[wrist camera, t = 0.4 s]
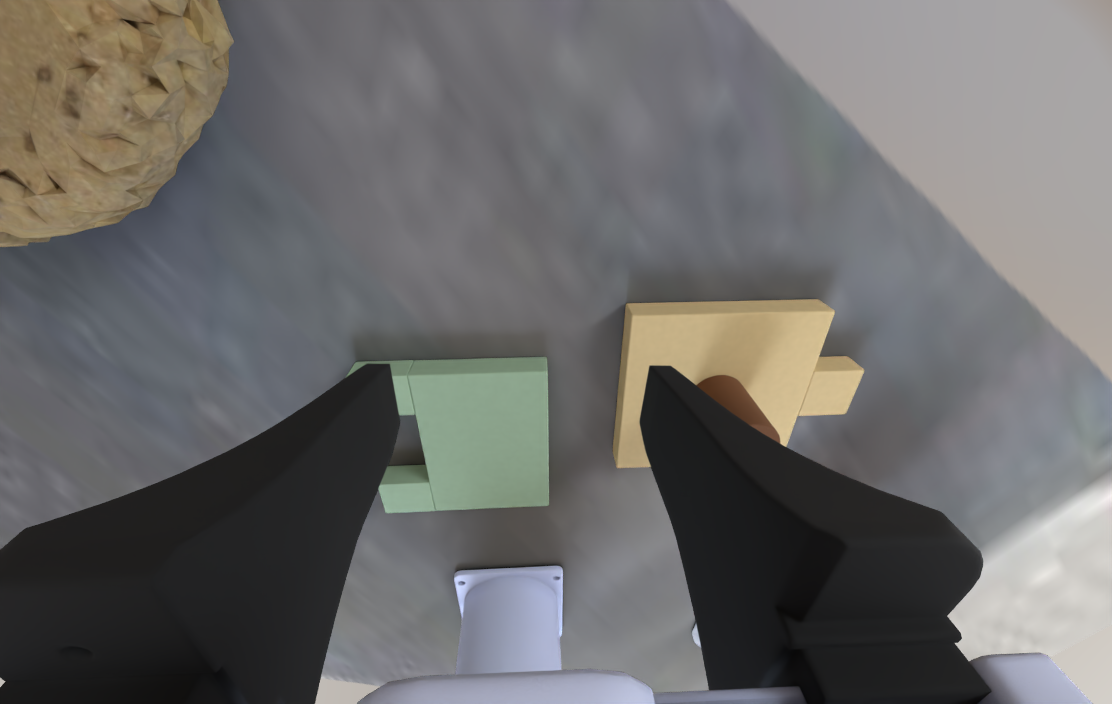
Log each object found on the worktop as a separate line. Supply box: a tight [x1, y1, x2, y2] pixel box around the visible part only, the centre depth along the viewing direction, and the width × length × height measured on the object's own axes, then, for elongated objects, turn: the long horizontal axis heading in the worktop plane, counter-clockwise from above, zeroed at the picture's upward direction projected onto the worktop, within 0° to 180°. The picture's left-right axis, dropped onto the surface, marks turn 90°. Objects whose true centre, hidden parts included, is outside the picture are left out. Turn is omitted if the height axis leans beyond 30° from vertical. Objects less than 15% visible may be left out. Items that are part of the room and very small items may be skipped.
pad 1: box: [346, 357, 549, 513], centre depth 25 cm, size 10×10×2 cm
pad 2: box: [613, 299, 864, 468], centre depth 22 cm, size 10×13×6 cm
